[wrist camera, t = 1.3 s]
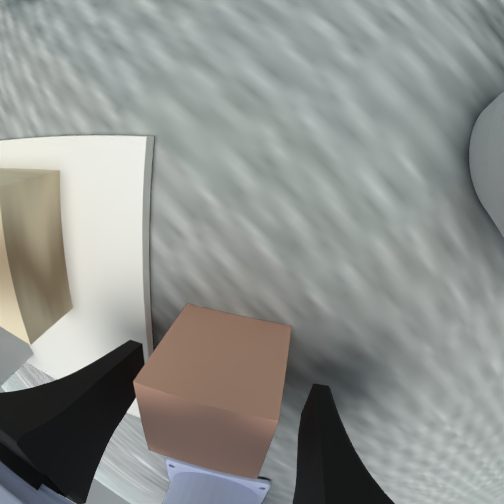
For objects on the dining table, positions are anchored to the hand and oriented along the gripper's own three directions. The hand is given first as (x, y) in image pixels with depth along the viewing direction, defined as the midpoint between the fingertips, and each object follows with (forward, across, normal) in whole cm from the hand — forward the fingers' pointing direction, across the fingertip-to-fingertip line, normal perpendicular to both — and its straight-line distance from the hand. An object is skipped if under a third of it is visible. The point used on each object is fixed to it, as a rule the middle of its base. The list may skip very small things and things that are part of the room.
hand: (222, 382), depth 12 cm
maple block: (+1, +12, -4) cm, 13 cm away
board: (+2, +12, -1) cm, 12 cm away
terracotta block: (+2, 0, 0) cm, 2 cm away
